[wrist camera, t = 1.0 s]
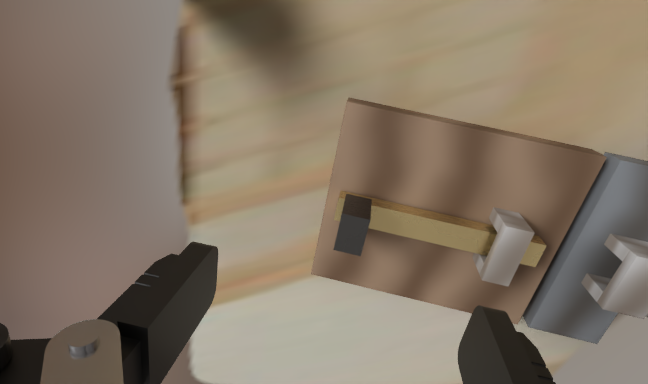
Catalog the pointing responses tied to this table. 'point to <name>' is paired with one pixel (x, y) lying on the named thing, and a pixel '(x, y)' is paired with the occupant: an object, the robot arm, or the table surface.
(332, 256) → the sliding latch board
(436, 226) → the barrel bolt
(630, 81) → the table surface
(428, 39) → the table surface
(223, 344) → the table surface
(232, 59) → the table surface
